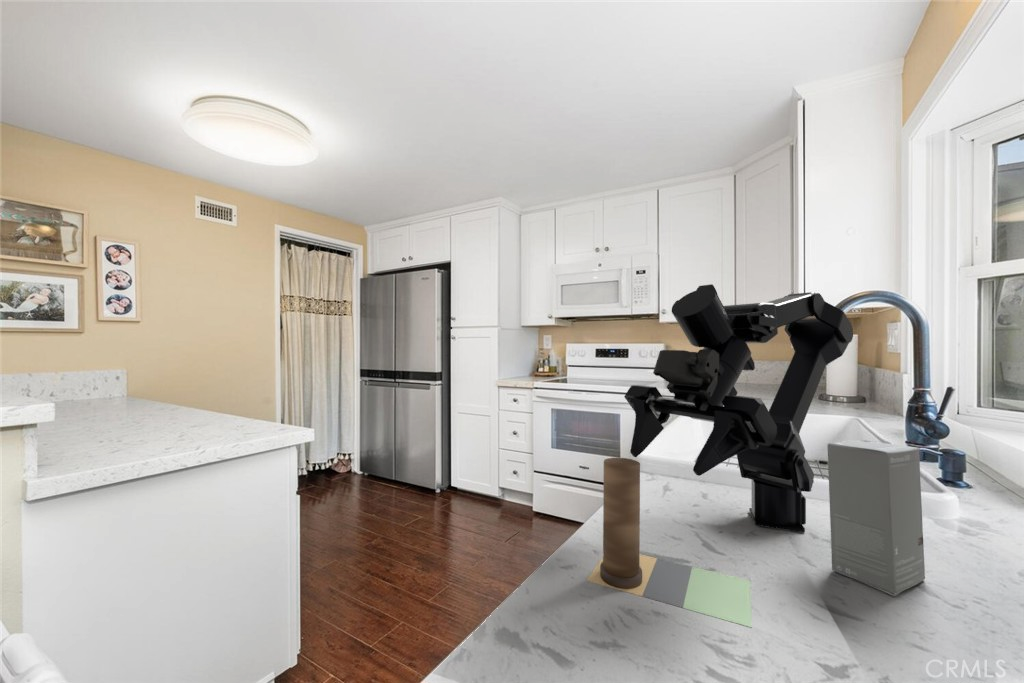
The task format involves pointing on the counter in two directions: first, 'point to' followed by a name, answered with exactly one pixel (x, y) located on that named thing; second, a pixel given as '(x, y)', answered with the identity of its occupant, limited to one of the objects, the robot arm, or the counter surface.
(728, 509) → the counter surface
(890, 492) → the skincare box
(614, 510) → the walnut peg
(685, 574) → the striped board
